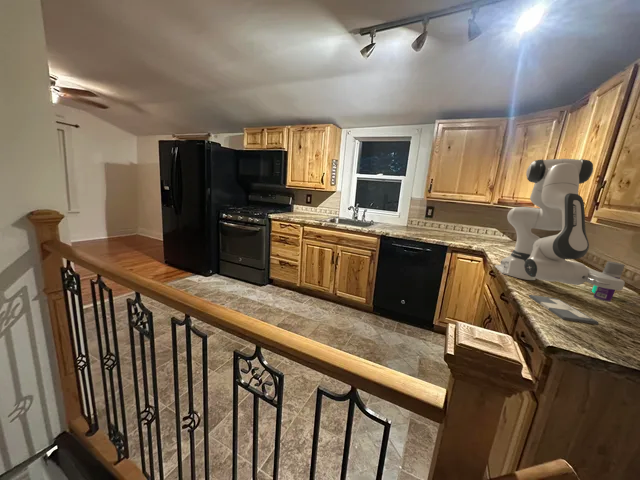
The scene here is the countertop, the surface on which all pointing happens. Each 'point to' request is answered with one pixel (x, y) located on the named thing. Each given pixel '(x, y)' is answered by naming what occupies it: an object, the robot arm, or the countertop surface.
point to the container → (614, 271)
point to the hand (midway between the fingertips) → (612, 278)
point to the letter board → (562, 309)
